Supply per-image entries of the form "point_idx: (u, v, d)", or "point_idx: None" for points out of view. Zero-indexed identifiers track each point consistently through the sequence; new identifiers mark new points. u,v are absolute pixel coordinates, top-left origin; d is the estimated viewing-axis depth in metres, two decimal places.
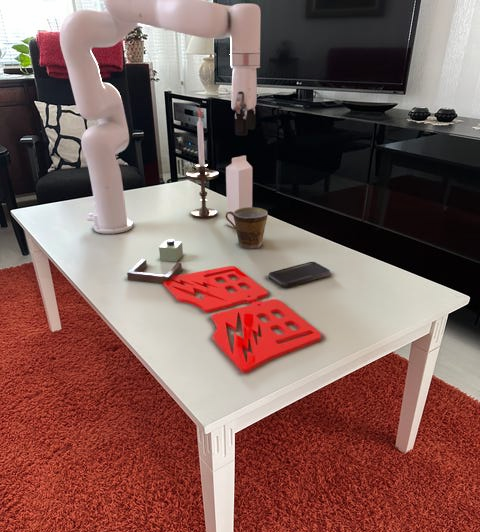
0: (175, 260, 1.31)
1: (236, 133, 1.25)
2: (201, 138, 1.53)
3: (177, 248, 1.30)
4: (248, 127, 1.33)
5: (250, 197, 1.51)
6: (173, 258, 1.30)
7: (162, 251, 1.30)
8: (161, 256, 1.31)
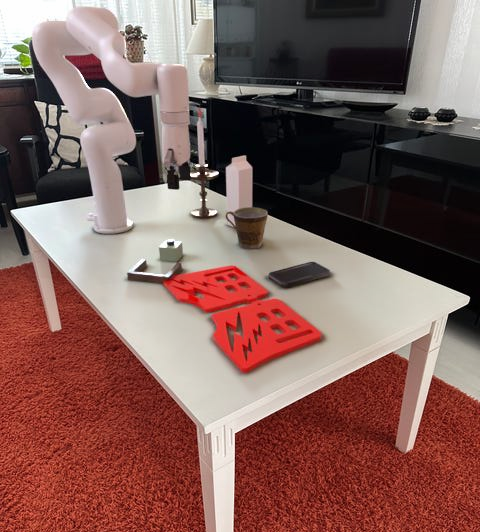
0: (175, 260, 1.31)
1: (169, 187, 1.26)
2: (201, 138, 1.53)
3: (177, 248, 1.30)
4: (184, 178, 1.34)
5: (250, 197, 1.51)
6: (173, 258, 1.30)
7: (162, 251, 1.30)
8: (161, 256, 1.31)
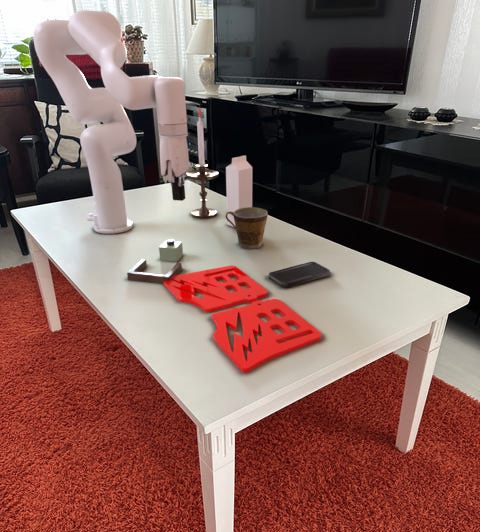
0: (175, 260, 1.31)
1: (173, 198, 1.32)
2: (201, 138, 1.53)
3: (177, 248, 1.30)
4: None
5: (250, 197, 1.51)
6: (173, 258, 1.30)
7: (162, 251, 1.30)
8: (161, 256, 1.31)
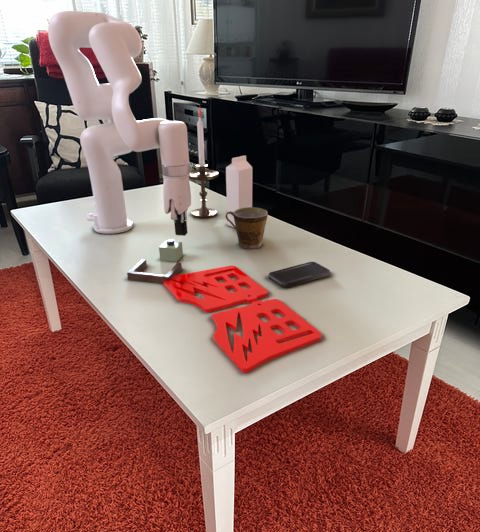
0: (175, 260, 1.31)
1: (176, 233, 1.37)
2: (201, 138, 1.53)
3: (177, 248, 1.30)
4: None
5: (250, 197, 1.51)
6: (173, 258, 1.30)
7: (162, 251, 1.30)
8: (161, 256, 1.31)
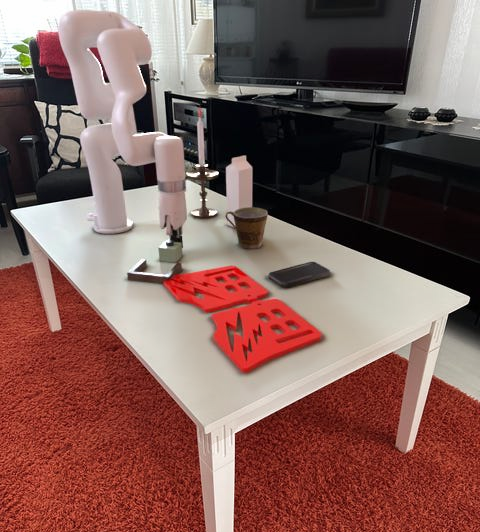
0: (174, 261, 1.30)
1: None
2: (201, 138, 1.53)
3: (176, 249, 1.29)
4: None
5: (250, 197, 1.51)
6: (172, 258, 1.30)
7: (161, 252, 1.30)
8: (160, 257, 1.31)
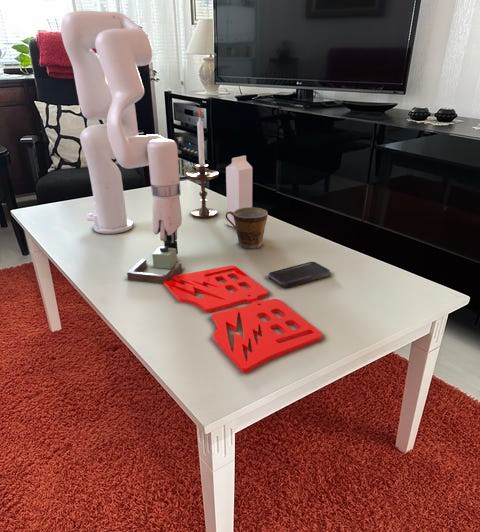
0: (169, 267, 1.26)
1: None
2: (201, 138, 1.53)
3: (171, 255, 1.26)
4: None
5: (250, 197, 1.51)
6: (167, 265, 1.26)
7: (155, 258, 1.26)
8: (154, 263, 1.27)
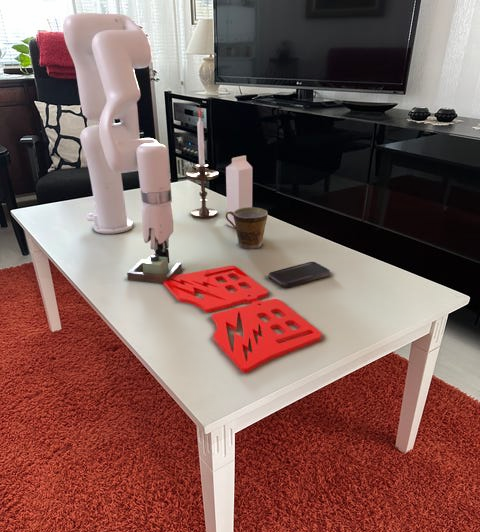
0: None
1: None
2: (201, 138, 1.53)
3: (162, 264, 1.21)
4: None
5: (250, 197, 1.51)
6: None
7: (146, 267, 1.21)
8: None
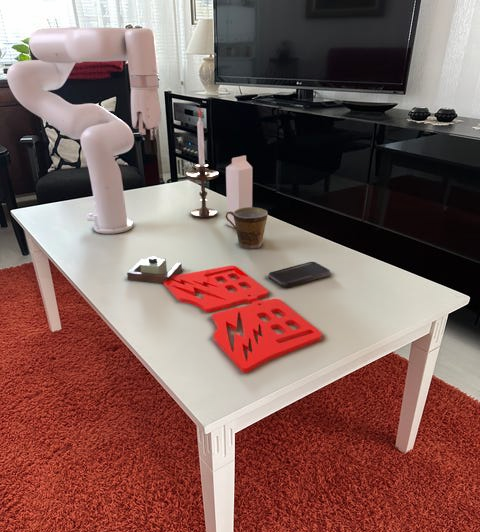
0: None
1: (146, 152, 1.34)
2: (201, 138, 1.53)
3: (160, 266, 1.19)
4: None
5: (250, 197, 1.51)
6: None
7: (144, 269, 1.20)
8: None
